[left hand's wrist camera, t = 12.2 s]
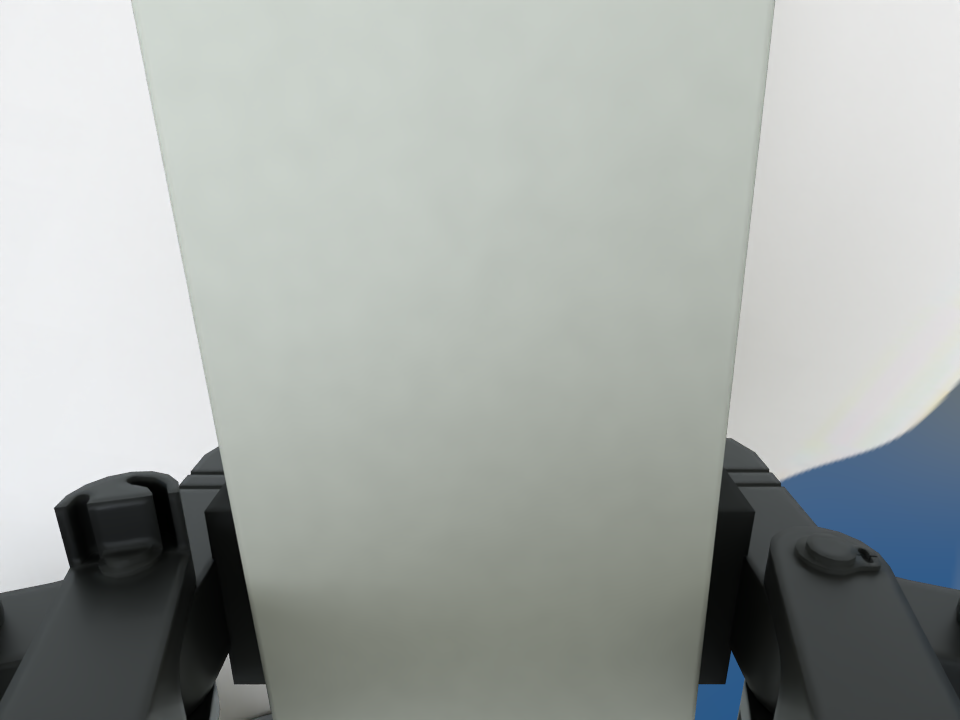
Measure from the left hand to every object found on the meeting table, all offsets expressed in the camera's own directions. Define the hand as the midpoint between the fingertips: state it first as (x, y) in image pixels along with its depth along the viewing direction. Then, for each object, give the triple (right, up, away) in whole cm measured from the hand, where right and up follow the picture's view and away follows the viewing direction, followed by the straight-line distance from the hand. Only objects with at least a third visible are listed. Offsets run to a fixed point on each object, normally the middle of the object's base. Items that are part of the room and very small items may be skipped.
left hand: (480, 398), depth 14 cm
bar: (-1, +22, -8) cm, 24 cm away
